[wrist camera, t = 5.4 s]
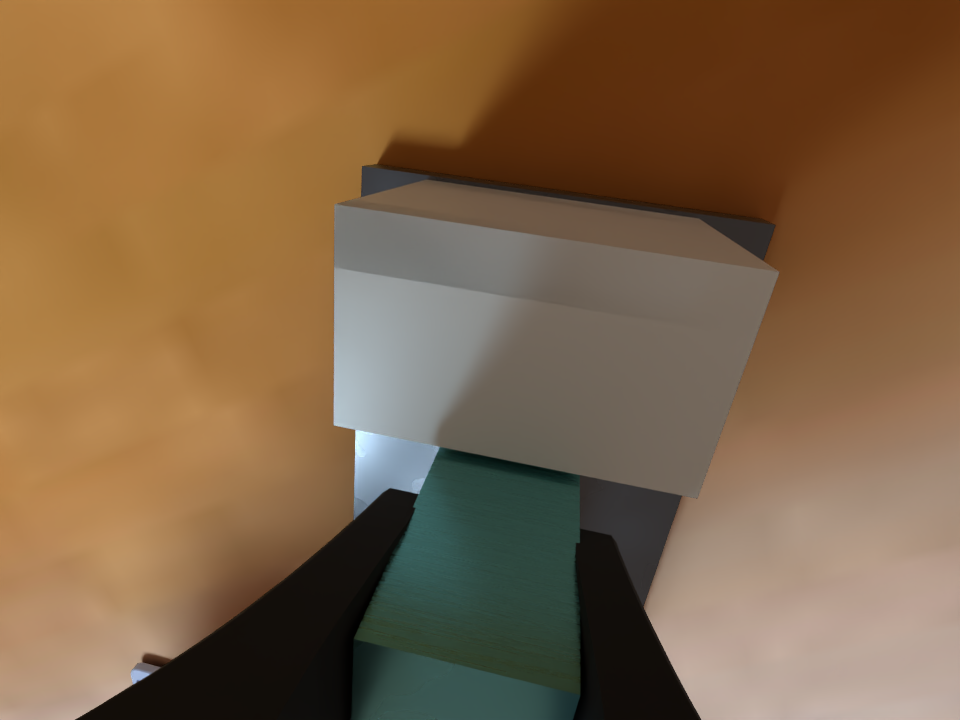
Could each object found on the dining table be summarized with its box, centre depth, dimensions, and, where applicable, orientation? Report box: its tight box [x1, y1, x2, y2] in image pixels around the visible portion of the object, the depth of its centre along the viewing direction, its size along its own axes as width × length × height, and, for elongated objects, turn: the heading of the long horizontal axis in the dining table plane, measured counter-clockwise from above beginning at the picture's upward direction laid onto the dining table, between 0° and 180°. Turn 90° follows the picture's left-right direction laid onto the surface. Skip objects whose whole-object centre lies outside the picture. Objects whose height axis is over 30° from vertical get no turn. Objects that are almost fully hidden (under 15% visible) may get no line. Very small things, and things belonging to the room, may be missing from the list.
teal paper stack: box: [351, 447, 580, 720], centre depth 11 cm, size 16×3×8 cm, turn 173°
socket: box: [334, 180, 779, 499], centre depth 11 cm, size 4×7×5 cm, turn 83°
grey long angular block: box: [354, 164, 775, 606], centre depth 16 cm, size 25×10×6 cm, turn 173°
